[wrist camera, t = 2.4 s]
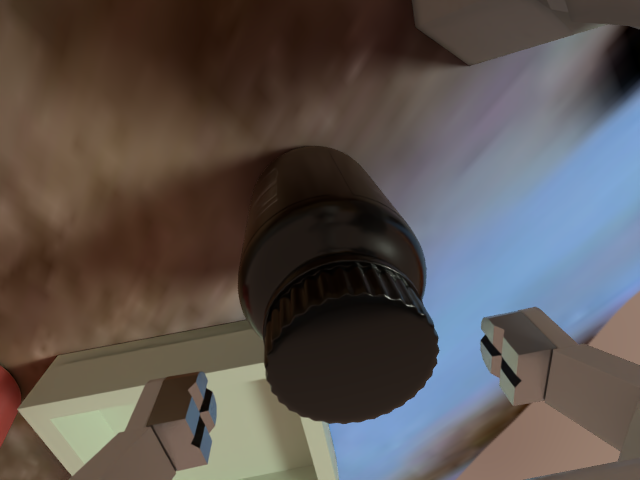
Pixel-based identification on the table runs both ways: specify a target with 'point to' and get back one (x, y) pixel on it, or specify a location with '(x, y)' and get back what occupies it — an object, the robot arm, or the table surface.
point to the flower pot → (8, 402)
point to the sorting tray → (223, 380)
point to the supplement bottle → (334, 290)
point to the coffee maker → (514, 23)
